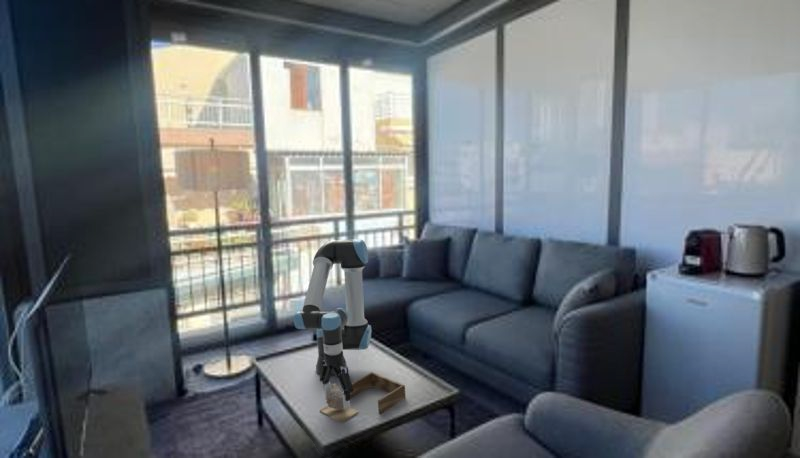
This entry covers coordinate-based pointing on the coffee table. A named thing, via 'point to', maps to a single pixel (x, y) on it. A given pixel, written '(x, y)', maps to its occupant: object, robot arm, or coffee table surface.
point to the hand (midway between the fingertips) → (337, 402)
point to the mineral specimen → (335, 398)
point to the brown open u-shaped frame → (392, 387)
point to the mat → (339, 413)
